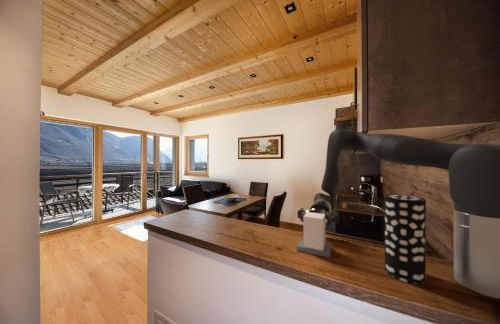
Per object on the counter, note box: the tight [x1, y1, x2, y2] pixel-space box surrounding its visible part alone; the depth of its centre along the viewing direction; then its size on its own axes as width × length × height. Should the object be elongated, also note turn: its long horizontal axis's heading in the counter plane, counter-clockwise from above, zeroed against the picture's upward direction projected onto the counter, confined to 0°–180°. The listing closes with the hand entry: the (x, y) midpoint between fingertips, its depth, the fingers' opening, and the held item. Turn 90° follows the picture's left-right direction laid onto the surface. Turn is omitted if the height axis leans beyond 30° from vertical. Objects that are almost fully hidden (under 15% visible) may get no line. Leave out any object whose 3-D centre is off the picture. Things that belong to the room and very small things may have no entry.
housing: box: [302, 212, 326, 251], centre depth 63 cm, size 6×6×10 cm
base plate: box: [296, 238, 332, 259], centre depth 63 cm, size 10×7×6 cm
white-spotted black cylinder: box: [384, 194, 427, 285], centre depth 50 cm, size 8×8×20 cm
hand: (314, 220), depth 65 cm, fingers open, 8 cm apart
